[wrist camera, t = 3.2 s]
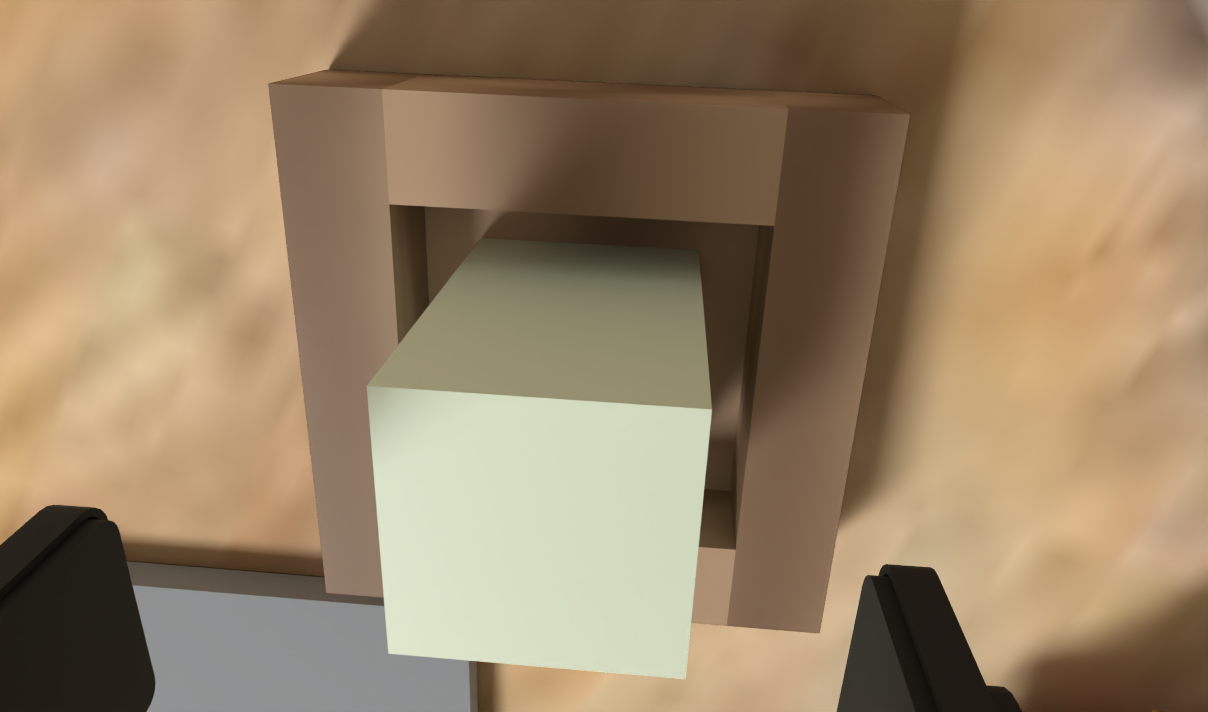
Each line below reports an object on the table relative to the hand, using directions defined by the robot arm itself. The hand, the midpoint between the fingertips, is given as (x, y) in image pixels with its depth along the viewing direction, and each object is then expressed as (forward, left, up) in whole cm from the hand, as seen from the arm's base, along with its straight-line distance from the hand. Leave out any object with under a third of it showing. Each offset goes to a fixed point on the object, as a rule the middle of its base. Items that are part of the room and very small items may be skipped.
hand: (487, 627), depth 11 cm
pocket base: (0, +1, -11) cm, 11 cm away
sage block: (0, +1, -11) cm, 11 cm away
